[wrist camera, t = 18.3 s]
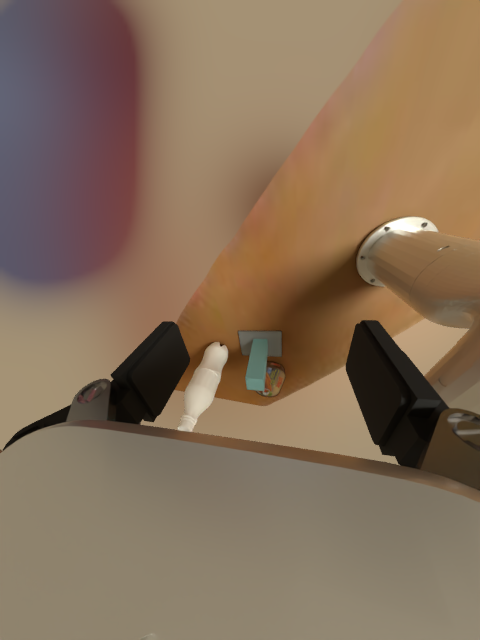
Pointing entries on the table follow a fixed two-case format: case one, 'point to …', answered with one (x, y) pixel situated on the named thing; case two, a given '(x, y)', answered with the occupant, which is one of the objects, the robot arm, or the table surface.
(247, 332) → the mat
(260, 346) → the stick
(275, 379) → the tin
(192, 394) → the water bottle
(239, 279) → the table surface
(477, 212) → the table surface
